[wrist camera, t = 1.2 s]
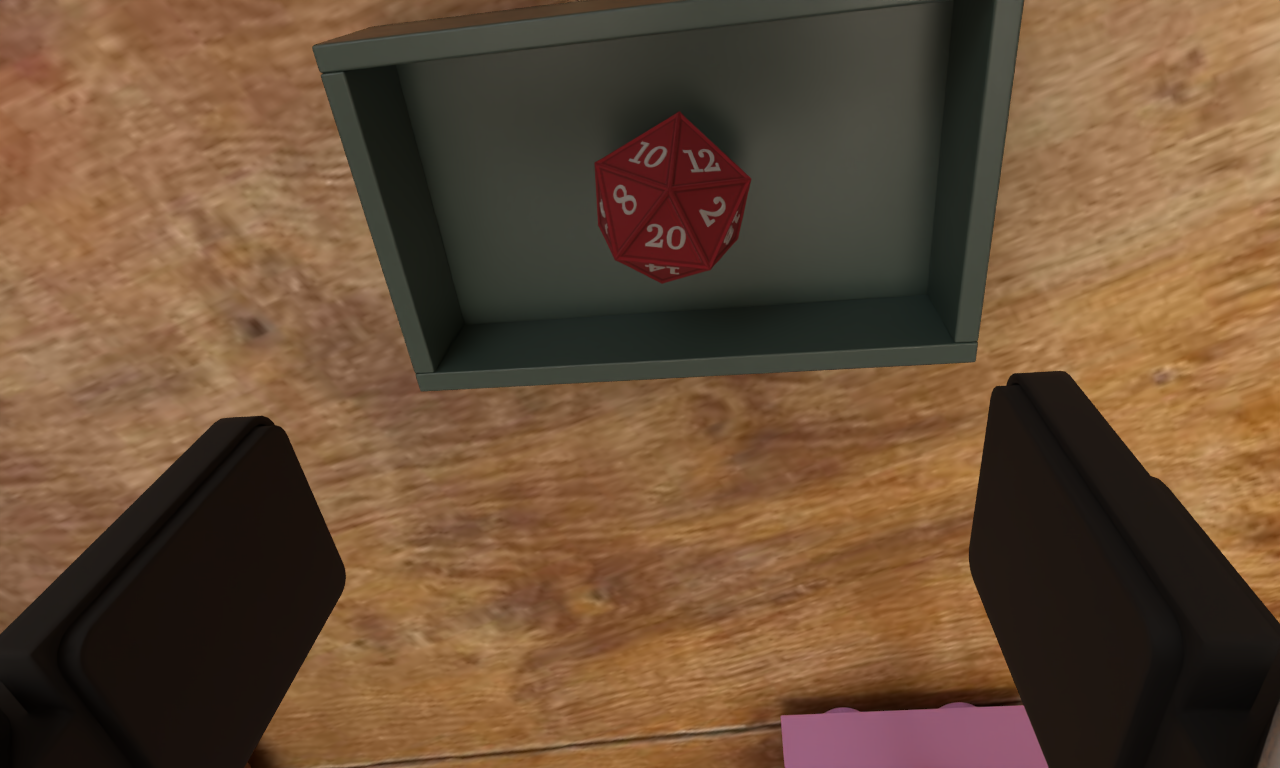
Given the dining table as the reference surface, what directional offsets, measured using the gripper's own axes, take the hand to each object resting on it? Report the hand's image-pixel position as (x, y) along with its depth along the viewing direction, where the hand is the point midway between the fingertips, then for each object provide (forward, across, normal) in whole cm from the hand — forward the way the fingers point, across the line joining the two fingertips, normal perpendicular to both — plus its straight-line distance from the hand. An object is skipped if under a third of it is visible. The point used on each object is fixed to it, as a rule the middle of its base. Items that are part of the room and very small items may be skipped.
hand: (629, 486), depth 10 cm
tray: (+13, 0, 0) cm, 13 cm away
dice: (+13, 0, 0) cm, 13 cm away
